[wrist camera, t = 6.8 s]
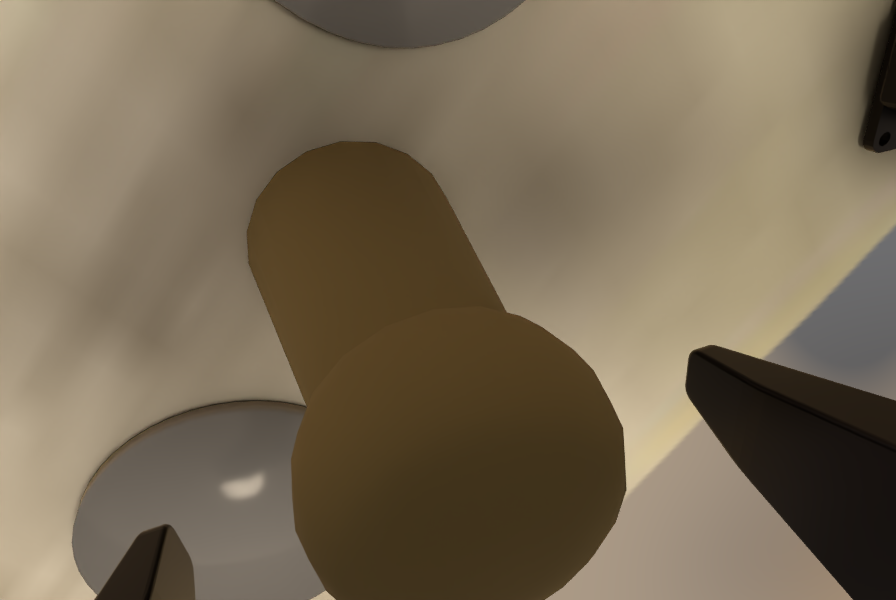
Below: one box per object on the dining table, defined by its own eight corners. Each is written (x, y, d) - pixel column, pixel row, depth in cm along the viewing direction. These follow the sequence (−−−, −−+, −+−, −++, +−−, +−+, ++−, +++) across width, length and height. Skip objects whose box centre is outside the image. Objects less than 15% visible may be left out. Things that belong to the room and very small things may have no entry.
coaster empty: (351, 363, 19) (354, 373, 18) (402, 553, 24) (405, 565, 23) (12, 463, 17) (5, 478, 16) (149, 647, 22) (147, 663, 21)
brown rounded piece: (310, 365, 18) (389, 752, 9) (200, 202, 15) (151, 556, 6) (479, 279, 19) (714, 565, 10) (409, 102, 15) (668, 283, 6)
